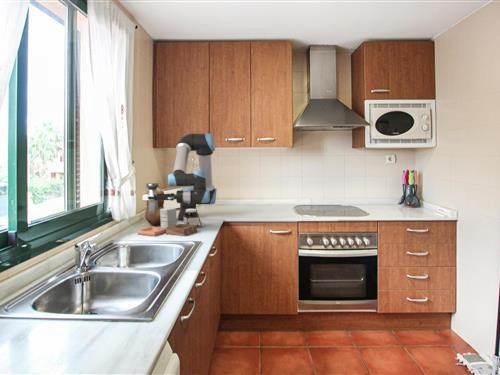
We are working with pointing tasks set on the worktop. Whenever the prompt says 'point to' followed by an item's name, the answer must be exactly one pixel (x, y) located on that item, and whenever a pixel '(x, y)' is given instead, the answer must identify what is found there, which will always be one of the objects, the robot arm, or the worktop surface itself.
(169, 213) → the supplement box
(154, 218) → the butternut squash
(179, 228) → the bore block
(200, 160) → the robot arm
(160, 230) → the tray
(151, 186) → the metal plug
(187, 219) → the spread jar
